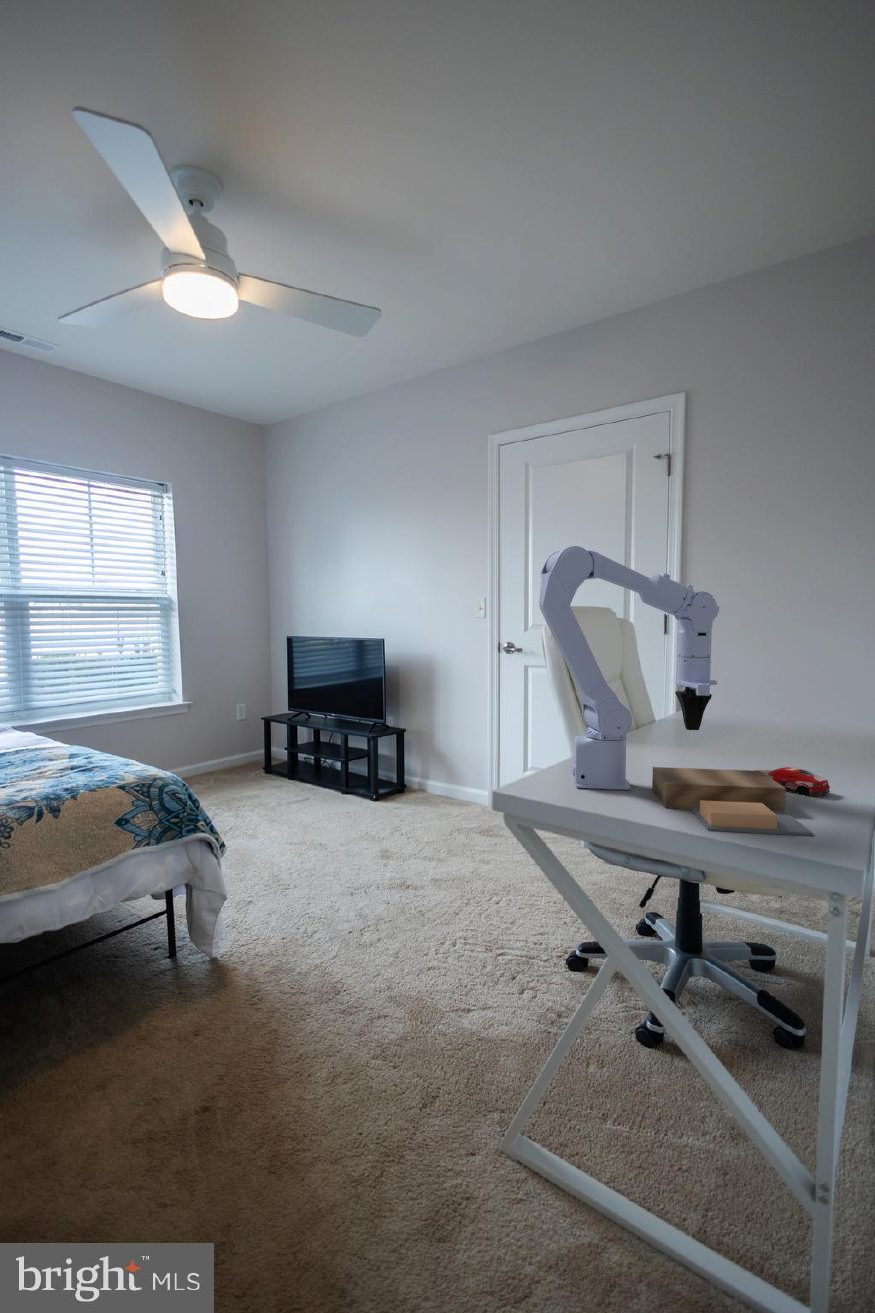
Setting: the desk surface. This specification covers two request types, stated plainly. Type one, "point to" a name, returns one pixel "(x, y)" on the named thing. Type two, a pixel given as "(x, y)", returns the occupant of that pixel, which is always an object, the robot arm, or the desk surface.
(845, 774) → the desk surface
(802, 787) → the race car
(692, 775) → the brown wooden flat block
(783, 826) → the mat
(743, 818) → the tan wooden block
